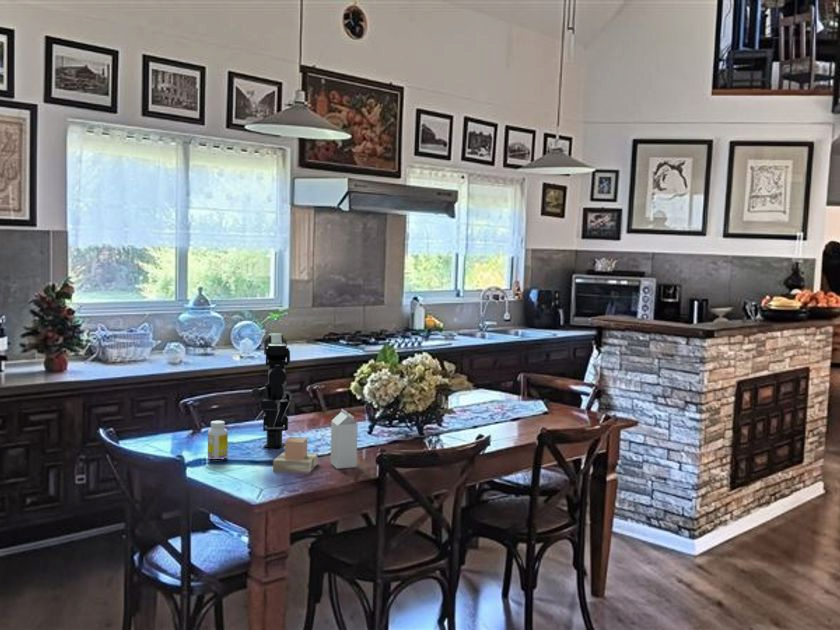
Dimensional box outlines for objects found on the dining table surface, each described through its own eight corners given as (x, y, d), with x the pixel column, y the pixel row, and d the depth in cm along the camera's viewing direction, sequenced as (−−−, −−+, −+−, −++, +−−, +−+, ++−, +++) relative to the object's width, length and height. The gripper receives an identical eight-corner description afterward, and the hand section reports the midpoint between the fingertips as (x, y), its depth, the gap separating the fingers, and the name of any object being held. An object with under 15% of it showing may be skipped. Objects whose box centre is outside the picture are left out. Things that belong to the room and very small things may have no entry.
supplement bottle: (229, 455, 285) (229, 419, 283) (225, 461, 278) (225, 424, 277) (209, 455, 284) (210, 419, 283) (205, 460, 278) (205, 423, 277)
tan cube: (289, 454, 277) (290, 436, 276) (307, 455, 276) (307, 438, 275) (284, 458, 271) (285, 441, 270) (302, 460, 270) (302, 442, 270)
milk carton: (336, 469, 273) (338, 413, 271) (330, 463, 280) (331, 409, 278) (356, 467, 276) (358, 412, 274) (350, 461, 282) (351, 408, 281)
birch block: (283, 462, 280) (283, 451, 280) (317, 465, 279) (317, 453, 279) (273, 472, 269) (273, 460, 268) (308, 475, 267) (308, 463, 267)
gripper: (262, 374, 291) (261, 417, 293) (244, 383, 273) (244, 429, 274) (292, 376, 290) (291, 419, 291) (277, 385, 271) (276, 431, 273)
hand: (275, 424), depth 283 cm, fingers open, 9 cm apart
